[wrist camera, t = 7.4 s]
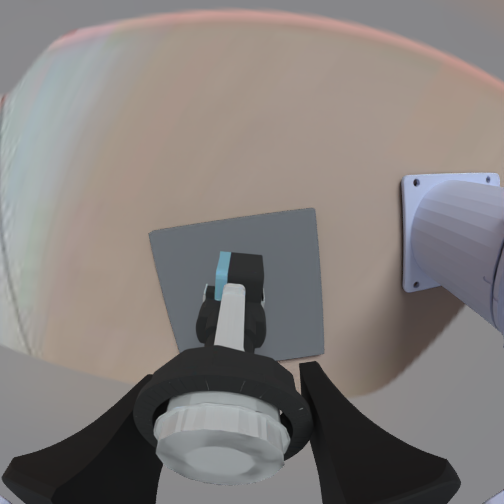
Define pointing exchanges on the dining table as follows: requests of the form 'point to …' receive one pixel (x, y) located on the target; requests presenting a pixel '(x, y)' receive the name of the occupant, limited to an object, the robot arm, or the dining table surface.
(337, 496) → the robot arm
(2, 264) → the dining table surface
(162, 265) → the rubber pad
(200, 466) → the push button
